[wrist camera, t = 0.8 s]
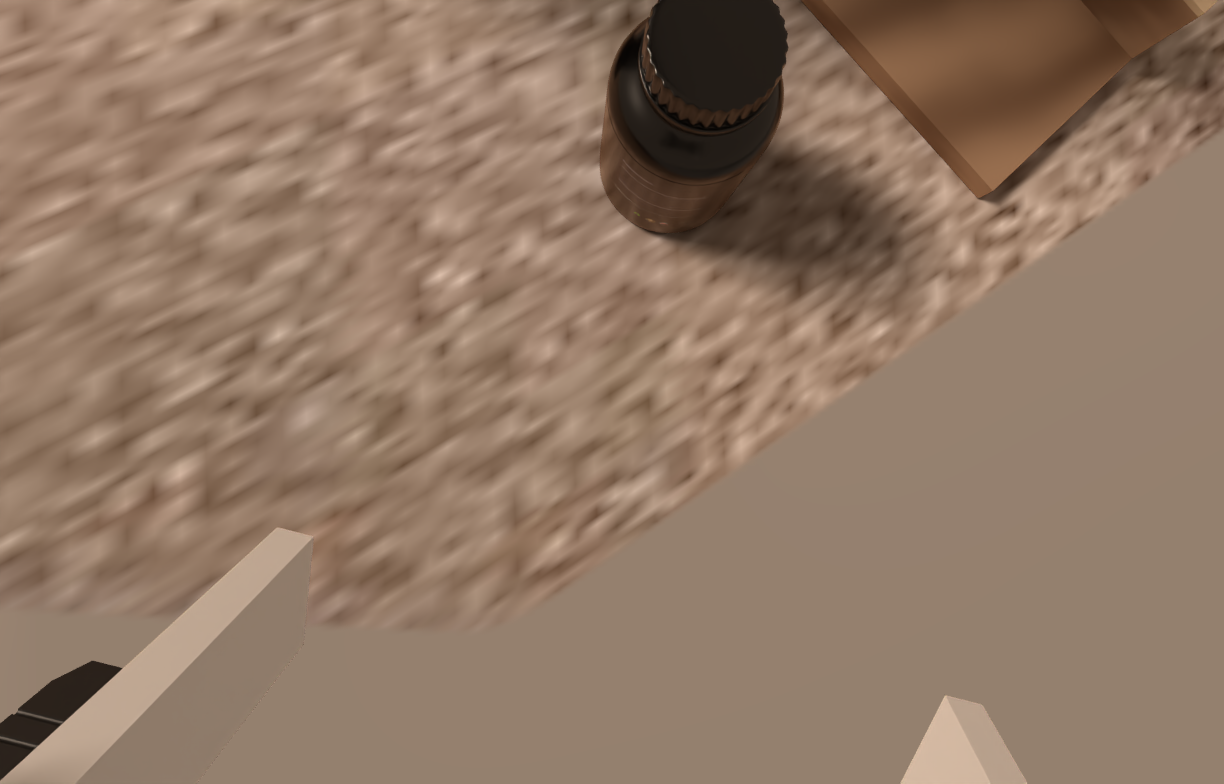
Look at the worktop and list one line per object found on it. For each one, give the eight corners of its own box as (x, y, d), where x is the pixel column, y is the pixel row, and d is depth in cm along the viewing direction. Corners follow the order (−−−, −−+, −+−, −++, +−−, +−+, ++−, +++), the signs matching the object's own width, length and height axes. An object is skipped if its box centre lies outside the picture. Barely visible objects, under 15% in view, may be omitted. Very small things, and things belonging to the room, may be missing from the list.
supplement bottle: (620, 84, 34) (653, -97, 22) (748, 129, 34) (848, -24, 22) (579, 212, 33) (588, 100, 21) (708, 256, 34) (788, 169, 22)
